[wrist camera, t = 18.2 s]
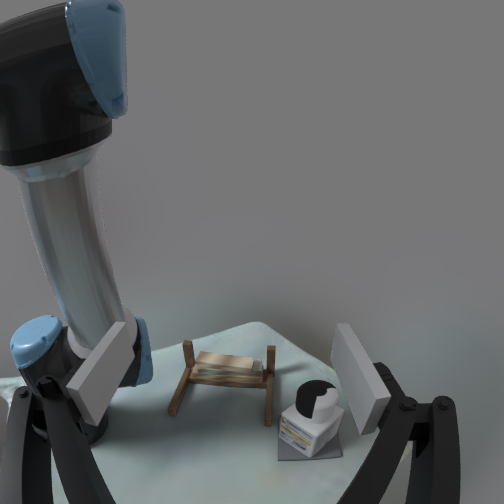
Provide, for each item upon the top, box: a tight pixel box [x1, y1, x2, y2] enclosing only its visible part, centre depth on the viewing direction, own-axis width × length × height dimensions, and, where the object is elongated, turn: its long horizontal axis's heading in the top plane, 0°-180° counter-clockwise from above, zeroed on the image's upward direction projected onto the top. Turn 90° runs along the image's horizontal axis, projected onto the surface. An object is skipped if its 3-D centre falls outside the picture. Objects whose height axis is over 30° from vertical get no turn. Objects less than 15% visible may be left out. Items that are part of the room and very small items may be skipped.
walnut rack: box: [168, 340, 276, 426], centre depth 51 cm, size 21×17×8 cm
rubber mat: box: [278, 415, 341, 461], centre depth 40 cm, size 11×11×1 cm
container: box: [279, 380, 344, 458], centre depth 38 cm, size 8×8×13 cm
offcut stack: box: [192, 351, 263, 383], centre depth 56 cm, size 16×5×4 cm, turn 86°
